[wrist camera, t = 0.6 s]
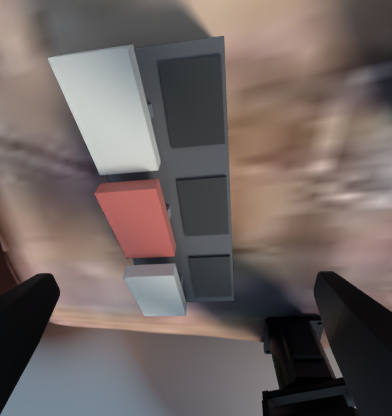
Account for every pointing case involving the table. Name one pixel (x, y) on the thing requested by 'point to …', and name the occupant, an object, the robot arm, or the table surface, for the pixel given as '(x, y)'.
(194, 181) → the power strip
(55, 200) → the table surface
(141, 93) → the white rectangular block
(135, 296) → the block
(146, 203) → the red block
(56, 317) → the table surface
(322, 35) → the table surface
